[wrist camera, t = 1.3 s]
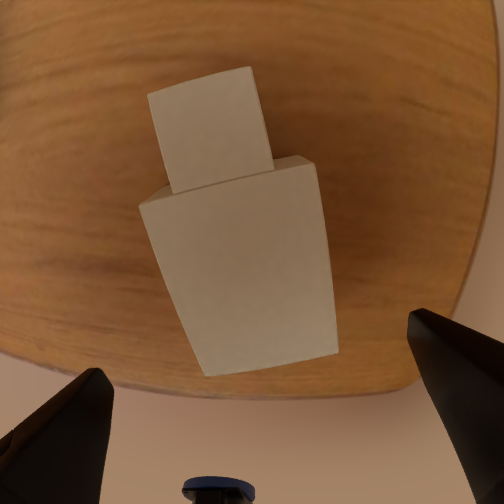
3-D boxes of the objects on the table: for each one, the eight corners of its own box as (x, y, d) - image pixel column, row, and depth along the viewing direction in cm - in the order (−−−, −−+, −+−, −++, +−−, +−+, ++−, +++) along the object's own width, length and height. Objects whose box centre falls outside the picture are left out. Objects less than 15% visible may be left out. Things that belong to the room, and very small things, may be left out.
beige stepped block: (324, 312, 15) (339, 353, 12) (211, 334, 16) (205, 377, 13) (281, 74, 11) (291, 57, 8) (141, 110, 11) (110, 107, 8)
